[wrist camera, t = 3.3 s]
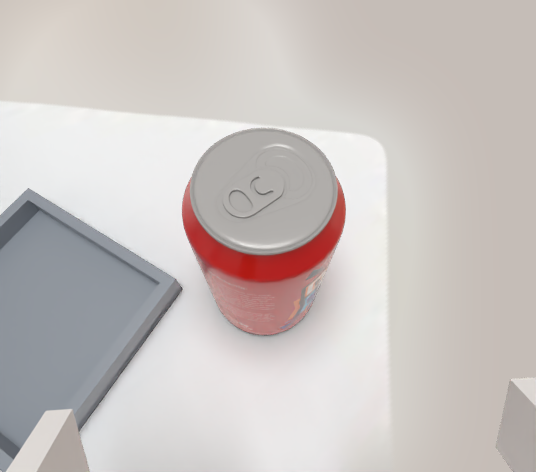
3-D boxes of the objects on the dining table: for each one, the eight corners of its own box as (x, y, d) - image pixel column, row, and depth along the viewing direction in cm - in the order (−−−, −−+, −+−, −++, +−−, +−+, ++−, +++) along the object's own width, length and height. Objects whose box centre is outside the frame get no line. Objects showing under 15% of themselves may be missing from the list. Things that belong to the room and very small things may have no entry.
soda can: (196, 279, 30) (139, 170, 17) (272, 225, 32) (278, 90, 19) (254, 359, 28) (244, 308, 14) (334, 296, 30) (392, 198, 16)
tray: (-107, 355, 28) (-140, 350, 25) (44, 203, 33) (28, 188, 31) (42, 480, 24) (20, 487, 22) (182, 289, 30) (175, 279, 28)
